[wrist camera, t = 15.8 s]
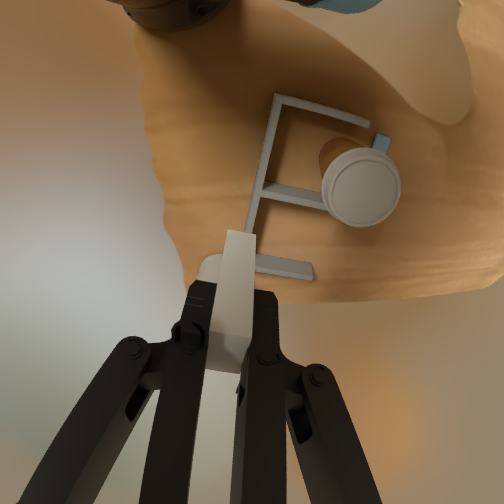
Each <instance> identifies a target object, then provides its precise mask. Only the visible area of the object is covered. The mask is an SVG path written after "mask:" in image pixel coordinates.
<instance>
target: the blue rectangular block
mask: <svg viewBox="0 0 504 504" xmlns="http://www.w3.org/2000/svg"><path fill="white" fill-rule="evenodd" d="M390 142H391V138H389V137H386V136H384V135H381V134H378V133H376V135H375V138H374V141H373V144H372V147H371V148H372V149H376V150H379V151H381V152H383V153H384V154H386V153H387V150H388V148H389V145H390Z"/></svg>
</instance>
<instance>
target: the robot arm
mask: <svg viewBox="0 0 504 504" xmlns="http://www.w3.org/2000/svg"><path fill="white" fill-rule="evenodd" d="M107 1H110V2H113V3H117V4H120V5H122V6H123V8H124V10H125V12H126V13H127V15H128V16H129V17H130V18H131V19H132V20H133V21H135V22H136V23H138V24H139V25H141V26H144V27H147V28H150V29H153V30H157V31H164V32H173V31H181V30H186V29H190V28H193V27H196V26H198V25H200V24H202V23H204V22H206V21H208V20H210V19H211V18H213V17H214V16H215V15H217V14H218V13H219V12H220V11H221V10H222V9H223V8H224V7H225V6H226V5H227V3H228V2H229V0H107ZM287 1H291V2H297V3H299V4H300V5H301V6H303V7H308V8H310V7H311V8H317V7H318V8H322V9H326V10H331V11H335V12H339V13H344V14H350V13H360V12H363V11H366V10H368V9H370V8H372V7H373V6H375V5H377V4H378V3H379V2H381V1H382V0H287ZM255 253H256V234H250V233H245V232H239V231H234V230H228V231H227V236H226V242H225V247H224V252H223V257H222V262H221V268H220V273H219V278H218V283H212V282H207V281H201V280H195V281H194V282H193V283H192V285H191V286H190V287H189V290H188V294H187V298H186V301H185V305H184V308H183V312H182V316H181V319H180V320H179V321H178V322H177V323H175V324H174V326H173V328H172V329H171V332H172V338H171V339H170V340H167V341H165V342H160V343H147V341H145V340H144V339H142V338H140V337H136V336H129V337H127V338H124V339H122V340H121V341H120V342H119V343H118V344H117V345H116V347H115V348H114V350H113V351H112V353H111V354H110V355H109V357H108V358H107V360H106V361H105V362H104V364H103V365H102V367H101V368H100V370H99V371H98V373H97V374H96V375H95V377H94V378H93V380H92V381H91V383H90V384H89V386H88V387H87V389H86V390H85V392H84V393H83V395H82V396H81V398H80V399H79V401H78V402H77V404H76V405H75V407H74V408H73V410H72V411H71V413H70V414H69V416H68V418H67V419H66V421H65V422H64V424H63V426H62V427H61V429H60V430H59V432H58V434H57V435H56V437H55V438H54V440H53V442H52V443H51V445H50V447H49V448H48V450H47V452H46V453H45V455H44V457H43V458H42V460H41V462H40V463H39V465H38V467H37V469H36V471H35V472H34V474H33V476H32V478H31V479H30V481H29V483H28V485H27V487H26V489H25V491H24V492H23V494H22V496H21V498H20V500H19V502H18V503H16V504H93V503H94V501H95V499H96V497H97V495H98V493H99V491H100V489H101V487H102V486H103V484H104V482H105V480H106V478H107V476H108V474H109V472H110V471H111V469H112V467H113V465H114V463H115V461H116V459H117V457H118V455H119V454H120V452H121V450H122V448H123V446H124V444H125V443H126V441H127V439H128V437H129V435H130V433H131V432H132V430H133V428H134V426H135V424H136V422H137V420H138V419H139V417H140V415H141V413H142V411H143V410H144V408H145V406H146V404H147V402H148V401H149V399H150V397H151V395H152V393H153V392H154V390H159V389H160V394H159V398H158V403H157V407H156V412H155V416H154V421H153V426H152V431H151V436H150V442H149V446H148V452H147V457H146V462H145V468H144V474H143V480H142V485H141V492H140V498H139V504H188V496H189V487H190V477H191V469H192V461H193V453H194V445H195V437H196V430H197V422H198V414H199V407H200V400H201V394H202V386H203V379H204V372H205V369H210V370H216V371H222V372H229V373H236V374H240V371H241V376H240V382H239V385H238V387H237V390H236V393H237V394H238V395H237V408H236V422H235V437H234V450H233V464H232V478H231V492H230V504H286V484H287V482H286V481H287V480H286V479H287V478H286V421H287V424H288V428H289V431H290V434H291V438H292V442H293V445H294V448H295V452H296V455H297V459H298V462H299V465H300V469H301V472H302V475H303V479H304V482H305V485H306V489H307V492H308V495H309V499H310V501H311V504H382V501H381V498H380V496H379V493H378V490H377V487H376V485H375V482H374V479H373V476H372V473H371V471H370V468H369V465H368V462H367V460H366V457H365V454H364V452H363V449H362V446H361V444H360V441H359V439H358V436H357V433H356V431H355V428H354V425H353V423H352V421H351V418H350V415H349V413H348V410H347V408H346V405H345V402H344V400H343V397H342V395H341V392H340V390H339V387H338V385H337V382H336V380H335V377H334V375H333V373H332V372H331V370H330V369H328V368H327V367H326V366H324V365H321V364H310V365H308V366H307V367H304V366H301V365H299V364H296V363H294V362H292V361H290V360H288V359H287V358H286V357H285V356H284V355H283V354H282V352H281V349H280V343H279V319H278V300H277V298H276V296H275V295H274V293H273V292H270V291H264V290H258V289H254V278H255Z"/></svg>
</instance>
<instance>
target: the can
mask: <svg viewBox="0 0 504 504" xmlns="http://www.w3.org/2000/svg"><path fill="white" fill-rule="evenodd" d="M222 257H223V255H222V254H216V255H211V256H209V257H207V258H206V259H205V260H204V261H203V262H202V264H201V266H200V269H199V273H198V277H197V280H201V281H207V282H212V283H218V278H219V273H220V268H221V262H222Z"/></svg>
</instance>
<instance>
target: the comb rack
mask: <svg viewBox="0 0 504 504" xmlns="http://www.w3.org/2000/svg"><path fill="white" fill-rule="evenodd" d="M282 104H285V105H289V106H294V107H298V108H302V109H306V110H310V111H313V112H317V113H321V114H324V115H328V116H331V117H334V118H338V119H341V120H344V121H347V122H350V123H353V124H356V125H359V126H362V127H365V128H368V129H369V126H370V121H368V120H366V119H365V118H363V117H360V116H357V115H354V114H351V113H348V112H345V111H342V110H339V109H336V108H332V107H329V106H326V105H322V104H319V103H315V102H311V101H308V100H304V99H300V98H296V97H292V96H287V95H283V94H279V93H274V97H273V101H272V106H271V110H270V114H269V119H268V123H267V128H266V132H265V137H264V141H263V146H262V150H261V155H260V159H259V164H258V168H257V173H256V177H255V182H254V187H253V191H252V196H251V201H250V205H249V210H248V215H247V219H246V224H245V229H244V232H245V233H250V234H252V230H253V226H254V222H255V217H256V213H257V209H258V204H259V200H260V197H264V198H270V199H275V200H279V201H284V202H289V203H294V204H299V205H303V206H308V207H312V208H317V209H321V210H326V211H328V210H327V209H326V207H325V204H324V202H323V199H322V194H321V193H317V192H313V191H309V190H304V189H300V188H295V187H291V186H286V185H281V184H277V183H272V182H267V181H264V179H265V174H266V170H267V166H268V162H269V157H270V153H271V149H272V144H273V140H274V136H275V132H276V127H277V123H278V119H279V115H280V110H281V106H282ZM255 271H256V272H262V273H268V274H274V275H280V276H286V277H292V278H298V279H304V280H310V281H312V279H313V271H312V266H311V263H308V262H302V261H296V260H291V259H285V258H279V257H274V256H268V255H262V254H257V253H255Z"/></svg>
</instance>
